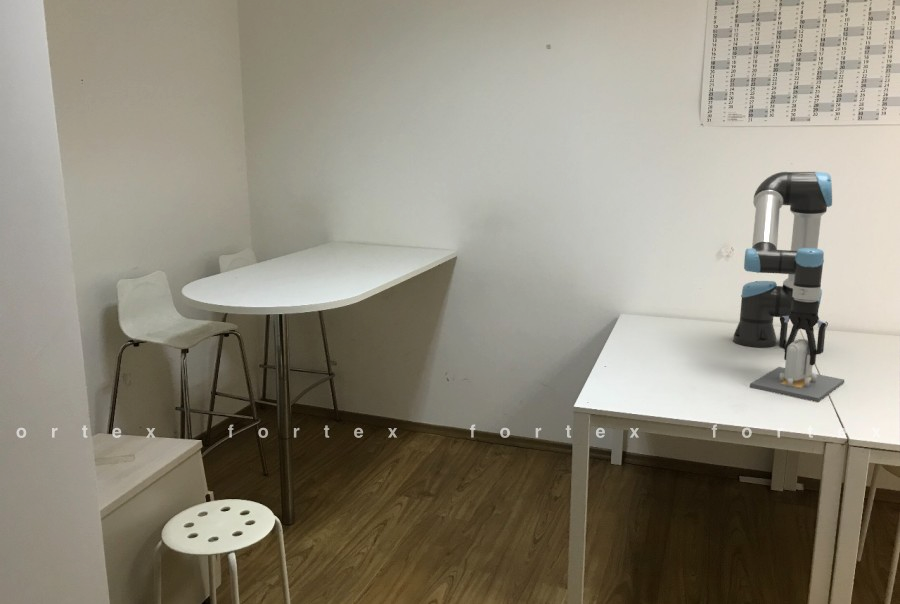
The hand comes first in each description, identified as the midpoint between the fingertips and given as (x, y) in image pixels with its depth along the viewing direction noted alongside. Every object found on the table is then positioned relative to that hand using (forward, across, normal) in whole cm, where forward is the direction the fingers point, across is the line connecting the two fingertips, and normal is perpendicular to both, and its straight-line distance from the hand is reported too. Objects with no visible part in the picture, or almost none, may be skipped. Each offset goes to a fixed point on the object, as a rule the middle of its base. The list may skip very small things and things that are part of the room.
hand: (798, 372), depth 227 cm
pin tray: (+4, 0, 0) cm, 4 cm away
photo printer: (+2, 0, 0) cm, 2 cm away
